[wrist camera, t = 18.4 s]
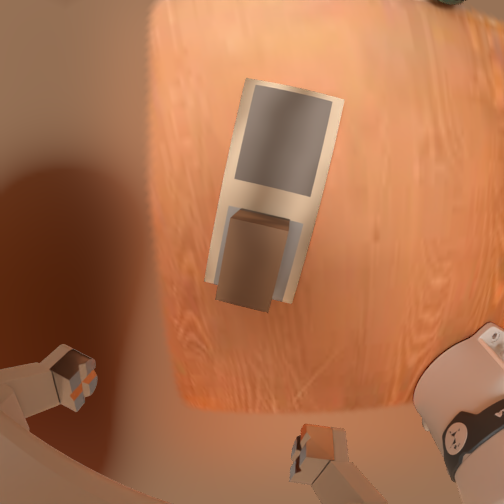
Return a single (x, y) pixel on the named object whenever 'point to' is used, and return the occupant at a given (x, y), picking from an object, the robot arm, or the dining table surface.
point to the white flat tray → (277, 170)
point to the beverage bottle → (452, 1)
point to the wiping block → (252, 259)
